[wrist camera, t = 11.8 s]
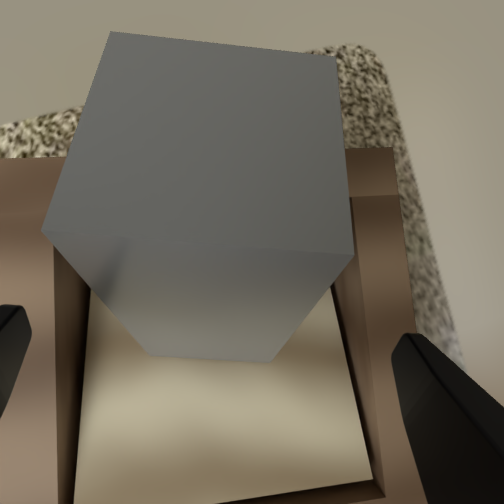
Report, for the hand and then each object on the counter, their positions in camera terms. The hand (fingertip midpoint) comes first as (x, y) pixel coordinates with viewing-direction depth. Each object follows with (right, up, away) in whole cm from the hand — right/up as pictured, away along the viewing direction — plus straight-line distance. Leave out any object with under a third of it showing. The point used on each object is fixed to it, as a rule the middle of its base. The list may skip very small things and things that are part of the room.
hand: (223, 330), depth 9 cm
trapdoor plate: (-1, -3, +11) cm, 11 cm away
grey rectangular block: (-1, -1, +11) cm, 11 cm away
